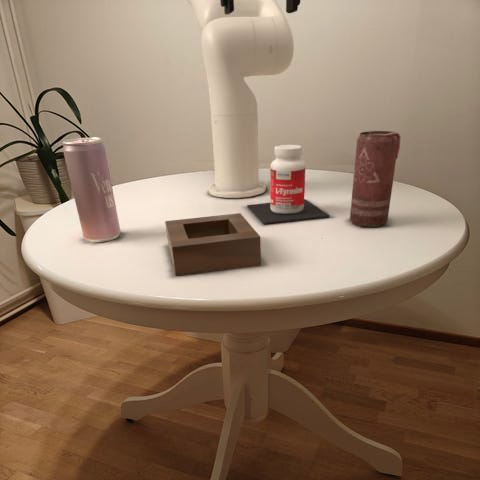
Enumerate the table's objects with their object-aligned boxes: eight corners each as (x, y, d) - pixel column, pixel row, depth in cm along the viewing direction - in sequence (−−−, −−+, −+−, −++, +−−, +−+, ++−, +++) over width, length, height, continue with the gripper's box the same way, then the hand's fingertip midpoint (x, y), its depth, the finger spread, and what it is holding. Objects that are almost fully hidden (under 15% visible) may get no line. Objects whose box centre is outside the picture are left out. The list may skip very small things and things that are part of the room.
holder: (168, 246, 65) (165, 221, 63) (241, 237, 67) (240, 212, 65) (175, 276, 55) (171, 246, 53) (261, 264, 57) (260, 236, 55)
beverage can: (105, 229, 74) (86, 136, 66) (128, 234, 71) (111, 138, 63) (76, 239, 70) (52, 141, 62) (99, 245, 66) (77, 143, 59)
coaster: (247, 207, 82) (247, 205, 82) (305, 201, 85) (305, 199, 84) (263, 224, 72) (263, 222, 72) (329, 217, 74) (329, 215, 74)
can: (390, 228, 68) (404, 134, 61) (349, 227, 69) (358, 135, 62) (387, 217, 73) (399, 129, 66) (349, 216, 74) (357, 130, 67)
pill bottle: (272, 216, 75) (271, 150, 70) (268, 206, 80) (268, 144, 75) (306, 214, 75) (309, 148, 70) (301, 205, 80) (303, 143, 75)
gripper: (310, -137, 58) (306, 14, 67) (187, -145, 55) (198, 16, 63) (334, -163, 52) (326, 8, 61) (196, -173, 49) (208, 10, 57)
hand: (260, 12), depth 62 cm, fingers open, 9 cm apart
